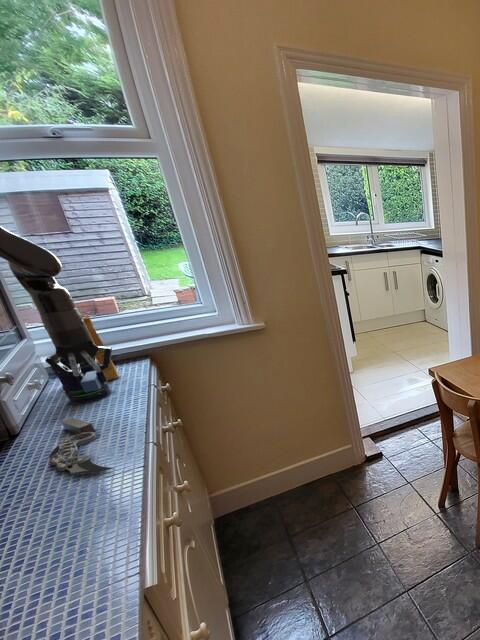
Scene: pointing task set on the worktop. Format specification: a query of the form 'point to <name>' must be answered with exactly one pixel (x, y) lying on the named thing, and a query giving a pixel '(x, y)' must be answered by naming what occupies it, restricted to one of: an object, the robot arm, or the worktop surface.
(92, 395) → the storage jar
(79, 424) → the walnut bar
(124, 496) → the worktop surface
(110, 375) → the coffee package
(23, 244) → the robot arm
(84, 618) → the worktop surface
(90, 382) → the blue bar
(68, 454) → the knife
